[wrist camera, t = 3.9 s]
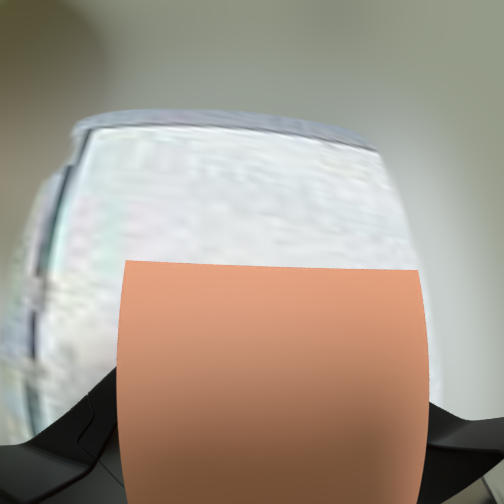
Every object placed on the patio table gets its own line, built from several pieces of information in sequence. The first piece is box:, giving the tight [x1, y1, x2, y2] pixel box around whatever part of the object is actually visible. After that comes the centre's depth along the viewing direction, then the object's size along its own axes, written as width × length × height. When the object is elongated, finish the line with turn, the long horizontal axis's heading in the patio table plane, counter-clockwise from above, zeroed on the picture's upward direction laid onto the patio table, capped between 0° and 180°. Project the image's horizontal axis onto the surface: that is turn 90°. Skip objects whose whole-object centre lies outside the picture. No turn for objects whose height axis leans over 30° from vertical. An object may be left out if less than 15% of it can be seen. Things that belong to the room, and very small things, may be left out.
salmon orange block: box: [117, 260, 429, 504], centre depth 8 cm, size 4×4×12 cm
